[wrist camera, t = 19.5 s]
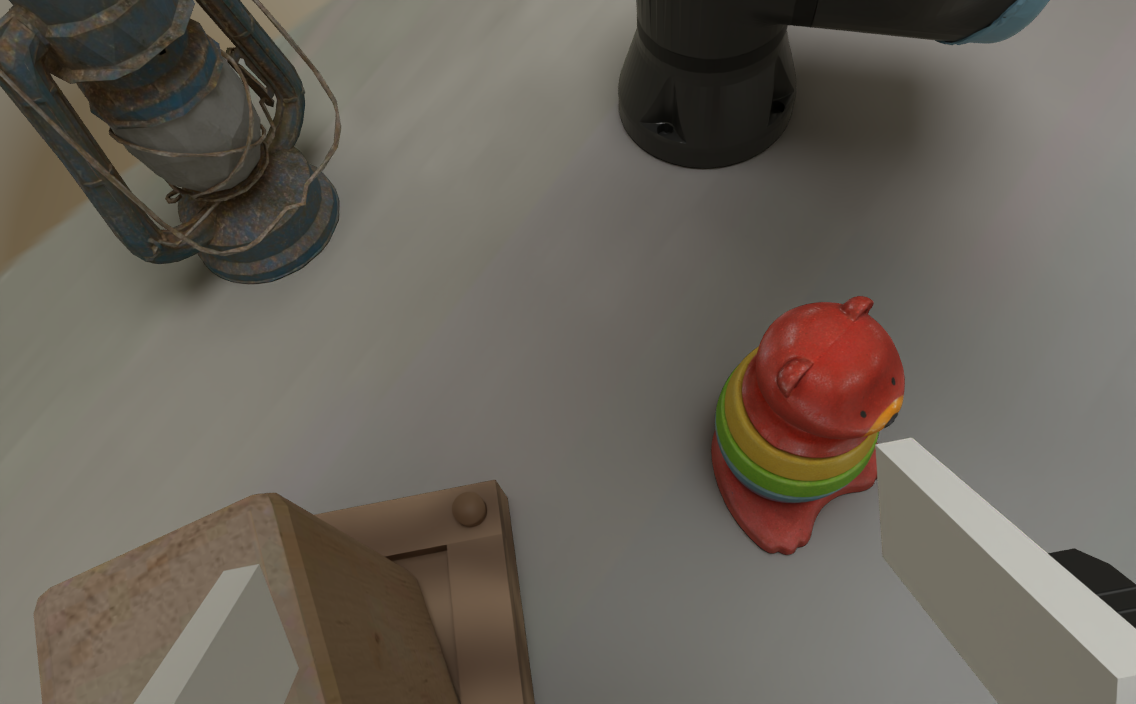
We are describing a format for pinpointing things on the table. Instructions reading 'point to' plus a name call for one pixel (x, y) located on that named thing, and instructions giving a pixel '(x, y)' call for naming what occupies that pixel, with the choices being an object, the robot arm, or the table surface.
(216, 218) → the lantern
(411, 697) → the wooden block
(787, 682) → the table surface
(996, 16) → the robot arm
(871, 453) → the stacking bear
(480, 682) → the base plate
